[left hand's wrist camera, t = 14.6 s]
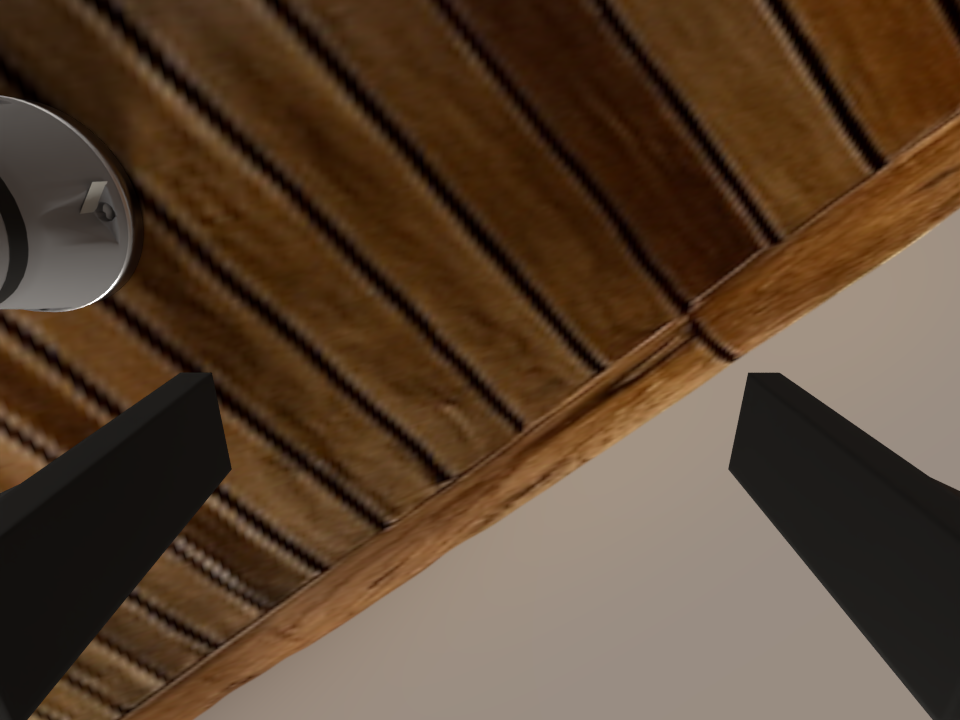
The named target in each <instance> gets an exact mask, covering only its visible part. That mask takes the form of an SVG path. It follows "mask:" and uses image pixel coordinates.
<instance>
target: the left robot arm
mask: <svg viewBox="0 0 960 720" xmlns="http://www.w3.org/2000/svg"><path fill="white" fill-rule="evenodd" d="M142 246H143V219H142V213H141V208H140V205H139V201H138V198H137V195H136V193H135V190H134V188H133V186H132V183H131V181H130V179H129V177H128V176H127V174H126V172H125V170H124V169H123V167H122V166H121V164H120V163H119V161H118V160H117V158H116V157H115V156H114V155H113V153H112V152H111V151H110V149H109V148H108V147H107V146H106V145H105V144H104V143H103V142H102V141H101V140H100V139H99V138H98V137H97V136H96V135H95V134H94V133H93V132H91V131H90V130H89V129H88V128H86V127H85V126H84V125H83V124H81V123H80V122H78V121H77V120H75V119H74V118H72V117H70V116H69V115H67V114H65V113H63V112H62V111H59V110H57V109H55V108H53V107H51V106H48V105H45V104H42V103H39V102H35V101H32V100H27V99H20V98H14V97H7V96H0V309H24V310H31V311H43V312H63V311H70V310H74V309H78V308H82V307H84V306H87V305H90V304H93V303H96V302H98V301H101V300H103V299H105V298H107V297H109V296H111V295H112V294H114V293H115V292H117V291H118V290H119V289H120V288H121V287H123V286H124V285H125V283H126V282H127V281H128V280H129V279H130V277H131V276H132V274H133V273H134V271H135V269H136V267H137V265H138V262H139V259H140V256H141V251H142ZM230 471H231V464H230V459H229V454H228V449H227V444H226V439H225V435H224V430H223V425H222V420H221V415H220V410H219V405H218V401H217V396H216V391H215V386H214V381H213V376H212V373H179V374H178V375H177V376H175V377H174V378H172V379H171V380H169V381H168V382H166V383H165V384H164V385H162V386H161V387H159V388H158V389H156V390H155V391H153V392H152V393H151V394H149V395H148V396H146V397H145V398H143V399H142V400H141V401H139V402H138V403H136V404H135V405H133V406H132V407H130V408H129V409H128V410H126V411H125V412H123V413H122V414H120V415H119V416H117V417H116V418H115V419H113V420H112V421H110V422H109V423H107V424H106V425H105V426H103V427H102V428H100V429H99V430H97V431H96V432H94V433H93V434H92V435H90V436H89V437H87V438H86V439H84V440H83V441H81V442H80V443H79V444H77V445H76V446H74V447H73V448H71V449H70V450H69V451H67V452H66V453H64V454H63V455H61V456H60V457H58V458H57V459H56V460H54V461H53V462H51V463H50V464H48V465H47V466H45V467H44V468H43V469H41V470H40V471H38V472H37V473H35V474H34V475H33V476H31V477H30V478H28V479H27V480H25V481H24V482H22V483H21V484H19V485H17V486H15V487H13V488H11V489H9V490H6V491H4V492H2V493H0V720H27V719H28V718H29V717H30V716H31V714H32V713H33V712H34V711H35V710H36V708H37V707H38V706H39V705H40V703H41V702H42V701H43V700H44V699H45V697H46V696H47V695H48V694H49V692H50V691H51V690H52V689H53V688H54V686H55V685H56V684H57V683H58V681H59V680H60V679H61V678H62V676H63V675H64V674H65V673H66V672H67V670H68V669H69V668H70V667H71V665H72V664H73V663H74V662H75V661H76V659H77V658H78V657H79V656H80V654H81V653H82V652H83V651H84V650H85V648H86V647H87V646H88V645H89V643H90V642H91V641H92V640H93V638H94V637H95V636H96V635H97V634H98V632H99V631H100V630H101V629H102V627H103V626H104V625H105V624H106V623H107V621H108V620H109V619H110V618H111V616H112V615H113V614H114V613H115V612H116V610H117V609H118V608H119V607H120V605H121V604H122V603H123V602H124V600H125V599H126V598H127V597H128V596H129V594H130V593H131V592H132V591H133V589H134V588H135V587H136V586H137V585H138V583H139V582H140V581H141V580H142V578H143V577H144V576H145V575H146V574H147V572H148V571H149V570H150V569H151V567H152V566H153V565H154V564H155V562H156V561H157V560H158V559H159V558H160V556H161V555H162V554H163V553H164V551H165V550H166V549H167V548H168V547H169V545H170V544H171V543H172V542H173V540H174V539H175V538H176V537H177V536H178V534H179V533H180V532H181V531H182V529H183V528H184V527H185V526H186V524H187V523H188V522H189V521H190V520H191V518H192V517H193V516H194V515H195V513H196V512H197V511H198V510H199V509H200V507H201V506H202V505H203V504H204V502H205V501H206V500H207V499H208V498H209V496H210V495H211V494H212V493H213V491H214V490H215V489H216V488H217V487H218V485H219V484H220V483H221V482H222V480H223V479H224V478H225V477H226V475H227V474H228V473H229V472H230ZM729 471H730V472H731V473H732V474H733V475H734V477H735V478H736V479H737V480H738V482H739V483H740V484H741V485H742V486H743V488H744V489H745V490H746V491H747V493H748V494H749V495H750V496H751V498H752V499H753V500H754V501H755V502H756V504H757V505H758V506H759V507H760V509H761V510H762V511H763V512H764V513H765V515H766V516H767V517H768V518H769V520H770V521H771V522H772V523H773V525H774V526H775V527H776V528H777V529H778V531H779V532H780V533H781V534H782V536H783V537H784V538H785V539H786V540H787V542H788V543H789V544H790V545H791V546H792V548H793V549H794V550H795V551H796V553H797V554H798V555H799V556H800V558H801V559H802V560H803V561H804V562H805V564H806V565H807V566H808V567H809V569H810V570H811V571H812V572H813V573H814V575H815V576H816V577H817V578H818V580H819V581H820V582H821V583H822V585H823V586H824V587H825V588H826V589H827V591H828V592H829V593H830V594H831V596H832V597H833V598H834V599H835V600H836V602H837V603H838V604H839V605H840V607H841V608H842V609H843V610H844V612H845V613H846V614H847V615H848V616H849V618H850V619H851V620H852V621H853V623H854V624H855V625H856V626H857V627H858V629H859V630H860V631H861V632H862V634H863V635H864V636H865V637H866V638H867V640H868V641H869V642H870V643H871V645H872V646H873V647H874V648H875V650H876V651H877V652H878V653H879V654H880V656H881V657H882V658H883V659H884V661H885V662H886V663H887V664H888V665H889V667H890V668H891V669H892V670H893V672H894V673H895V674H896V675H897V676H898V678H899V679H900V680H901V681H902V683H903V684H904V685H905V686H906V688H907V689H908V690H909V691H910V692H911V694H912V695H913V696H914V697H915V699H916V700H917V701H918V702H919V703H920V705H921V706H922V707H923V708H924V710H925V711H926V712H927V713H928V714H929V716H930V717H931V718H932V719H933V720H960V491H958V490H956V489H954V488H952V487H950V486H948V485H946V484H943V483H941V482H939V481H937V480H935V479H933V478H931V477H929V476H927V475H926V474H925V473H923V472H922V471H920V470H919V469H917V468H916V467H915V466H913V465H912V464H910V463H909V462H907V461H906V460H904V459H903V458H902V457H900V456H899V455H897V454H896V453H894V452H893V451H891V450H890V449H889V448H887V447H886V446H884V445H883V444H881V443H880V442H878V441H877V440H876V439H874V438H873V437H871V436H870V435H868V434H867V433H866V432H864V431H863V430H861V429H860V428H858V427H857V426H855V425H854V424H853V423H851V422H850V421H848V420H847V419H845V418H844V417H843V416H841V415H840V414H838V413H837V412H835V411H834V410H832V409H831V408H830V407H828V406H827V405H825V404H824V403H822V402H821V401H819V400H818V399H817V398H815V397H814V396H812V395H811V394H809V393H808V392H807V391H805V390H804V389H802V388H801V387H799V386H798V385H796V384H795V383H794V382H792V381H791V380H789V379H788V378H786V377H785V376H783V375H782V374H781V373H748V376H747V381H746V386H745V391H744V396H743V401H742V405H741V410H740V415H739V420H738V425H737V430H736V435H735V439H734V445H733V449H732V454H731V459H730V464H729Z"/></svg>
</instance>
